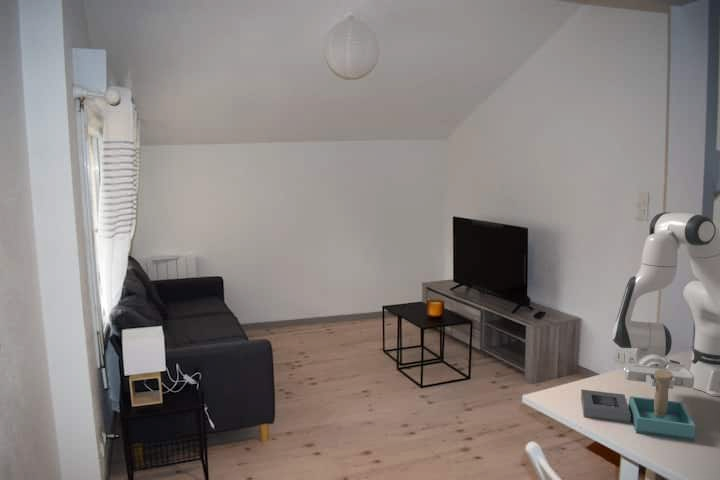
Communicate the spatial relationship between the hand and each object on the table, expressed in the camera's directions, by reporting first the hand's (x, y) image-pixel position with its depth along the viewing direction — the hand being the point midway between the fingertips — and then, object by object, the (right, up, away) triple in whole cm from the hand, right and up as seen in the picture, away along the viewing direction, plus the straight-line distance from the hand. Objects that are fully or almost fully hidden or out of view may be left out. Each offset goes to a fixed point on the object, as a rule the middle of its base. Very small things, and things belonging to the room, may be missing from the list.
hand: (662, 385), depth 171 cm
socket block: (-13, -12, +13) cm, 22 cm away
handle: (+1, -11, +3) cm, 12 cm away
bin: (+1, -14, +3) cm, 14 cm away
